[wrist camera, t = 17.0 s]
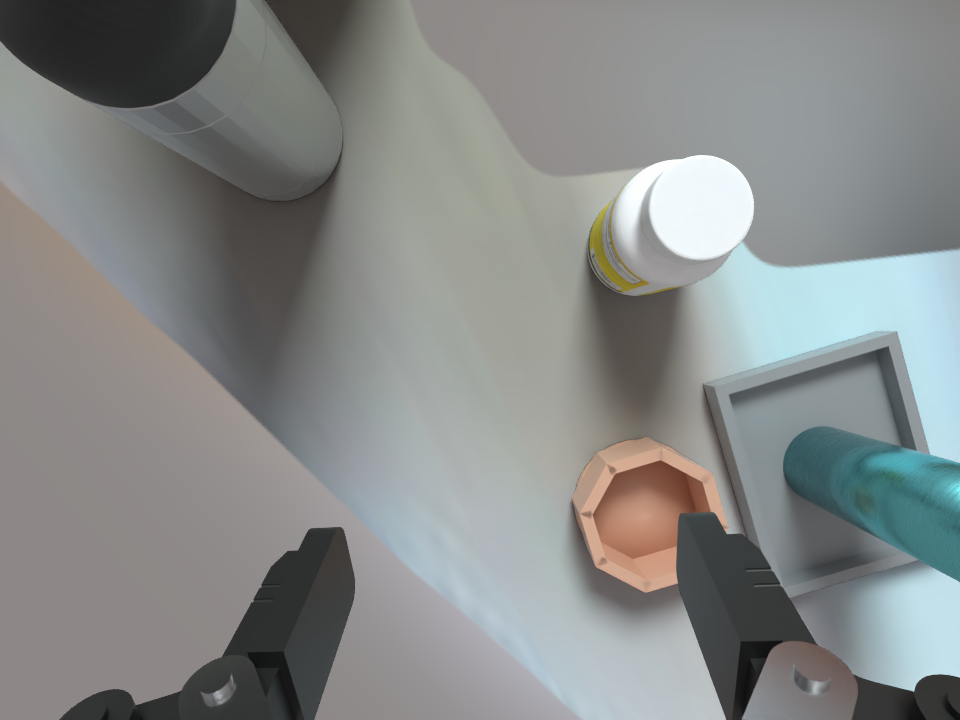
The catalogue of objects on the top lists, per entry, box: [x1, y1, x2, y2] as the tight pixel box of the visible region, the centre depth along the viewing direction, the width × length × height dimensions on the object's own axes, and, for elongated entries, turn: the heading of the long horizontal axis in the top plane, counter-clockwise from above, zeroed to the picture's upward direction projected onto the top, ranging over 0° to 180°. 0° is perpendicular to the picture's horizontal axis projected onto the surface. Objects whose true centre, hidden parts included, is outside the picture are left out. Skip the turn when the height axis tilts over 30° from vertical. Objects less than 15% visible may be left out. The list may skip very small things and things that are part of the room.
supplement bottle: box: [587, 155, 754, 296], centre depth 34 cm, size 7×7×13 cm
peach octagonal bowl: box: [572, 437, 728, 593], centre depth 40 cm, size 9×9×4 cm
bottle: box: [783, 426, 960, 582], centre depth 33 cm, size 6×6×15 cm
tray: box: [703, 331, 930, 598], centre depth 40 cm, size 16×13×2 cm
